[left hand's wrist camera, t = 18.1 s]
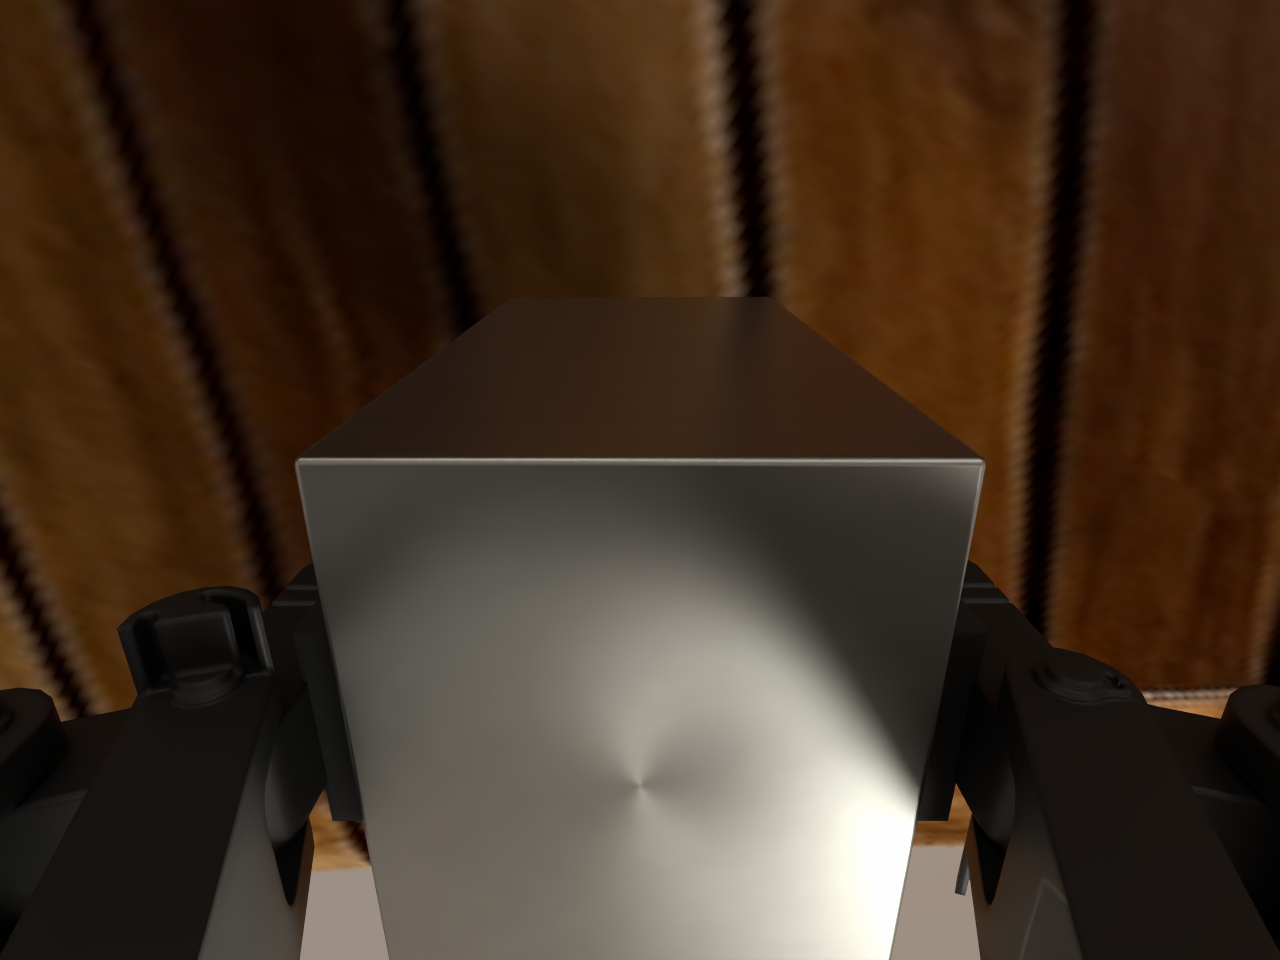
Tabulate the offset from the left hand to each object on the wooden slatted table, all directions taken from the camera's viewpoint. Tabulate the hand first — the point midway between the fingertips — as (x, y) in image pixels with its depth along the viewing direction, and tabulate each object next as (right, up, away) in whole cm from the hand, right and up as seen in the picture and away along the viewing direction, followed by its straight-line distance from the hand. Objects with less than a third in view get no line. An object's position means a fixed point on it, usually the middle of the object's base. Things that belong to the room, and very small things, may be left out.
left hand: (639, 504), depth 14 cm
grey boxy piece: (0, +1, +3) cm, 4 cm away
